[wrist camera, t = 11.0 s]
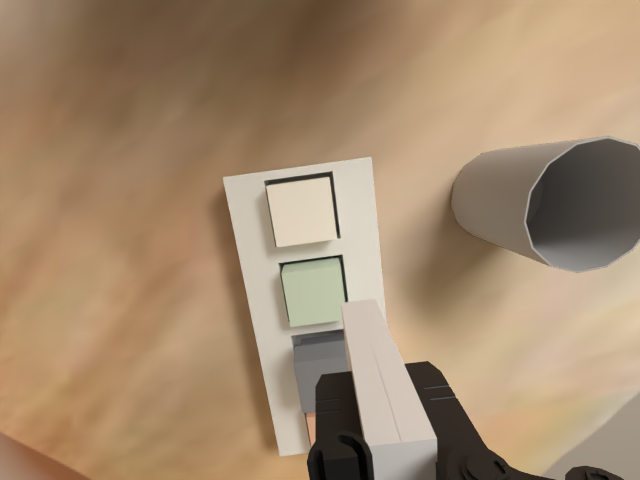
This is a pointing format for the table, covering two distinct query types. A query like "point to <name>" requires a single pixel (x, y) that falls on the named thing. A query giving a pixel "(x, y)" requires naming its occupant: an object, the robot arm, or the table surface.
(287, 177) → the keypad
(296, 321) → the key sage
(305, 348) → the key charcoal
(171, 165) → the table surface
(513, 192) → the cup
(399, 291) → the table surface
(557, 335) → the table surface
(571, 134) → the table surface
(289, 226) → the key cream
